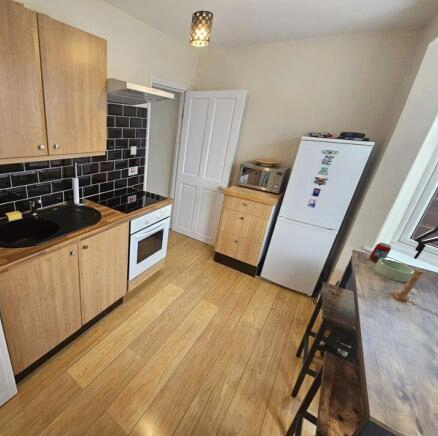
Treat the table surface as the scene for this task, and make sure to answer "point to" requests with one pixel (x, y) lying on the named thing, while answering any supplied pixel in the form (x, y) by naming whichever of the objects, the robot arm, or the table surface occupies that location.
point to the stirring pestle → (409, 286)
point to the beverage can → (380, 252)
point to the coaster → (400, 300)
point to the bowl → (393, 269)
